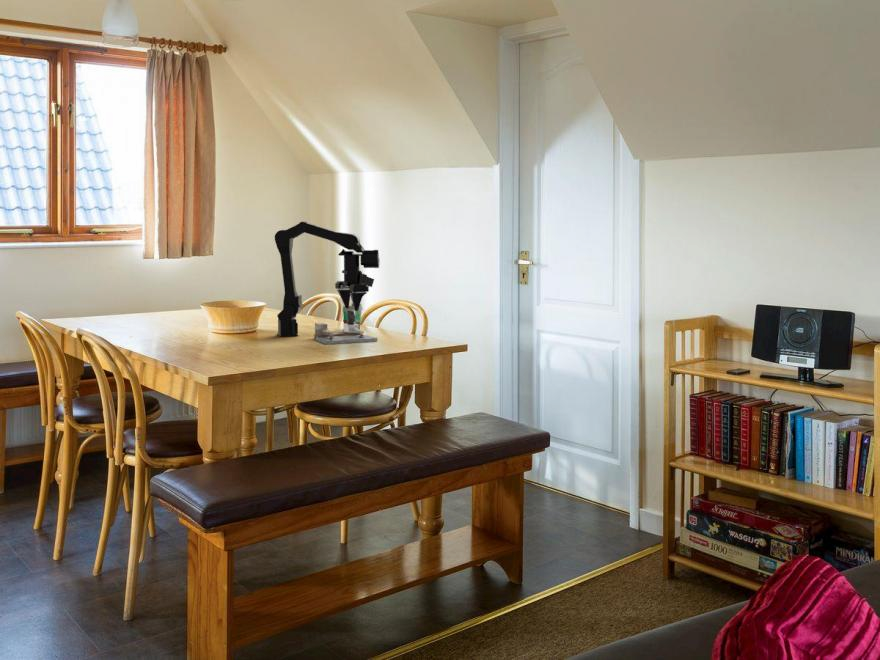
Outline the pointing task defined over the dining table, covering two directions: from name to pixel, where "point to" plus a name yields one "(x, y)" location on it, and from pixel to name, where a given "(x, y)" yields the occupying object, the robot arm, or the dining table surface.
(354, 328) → the divider leg
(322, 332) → the divider rail
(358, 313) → the food container
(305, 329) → the dining table surface
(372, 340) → the hole plate
